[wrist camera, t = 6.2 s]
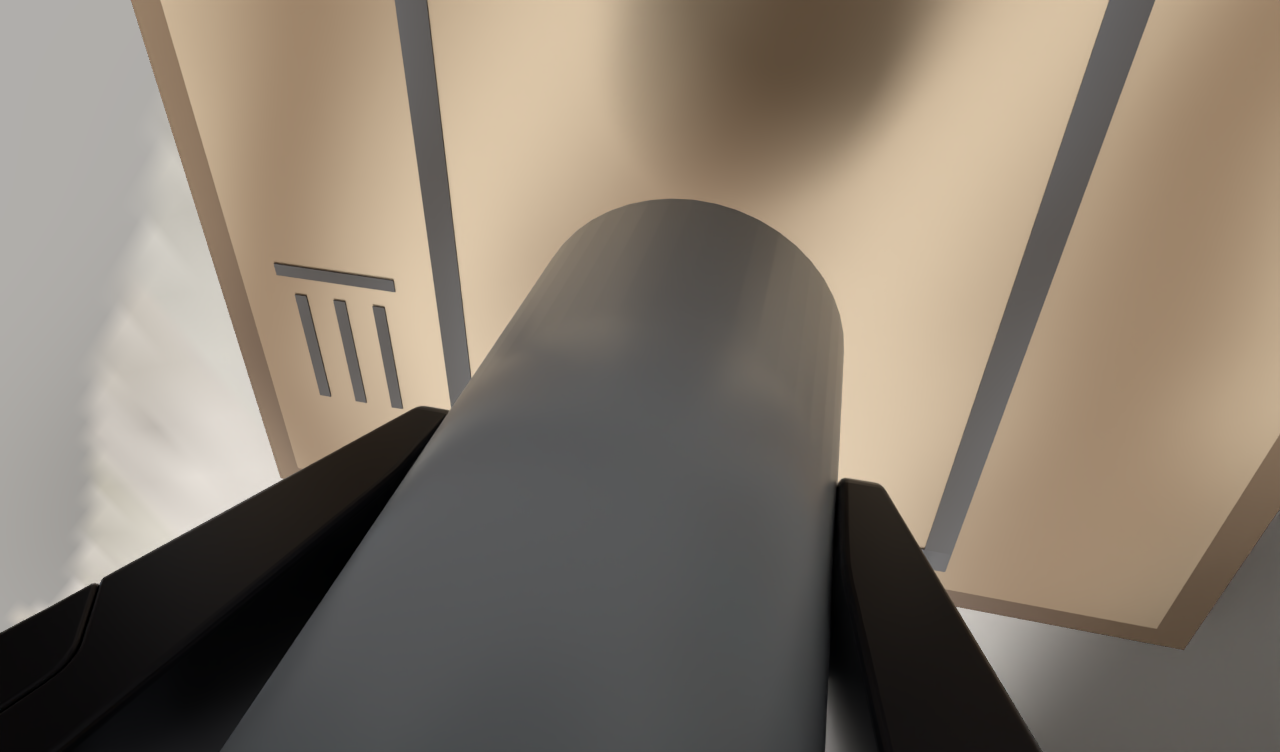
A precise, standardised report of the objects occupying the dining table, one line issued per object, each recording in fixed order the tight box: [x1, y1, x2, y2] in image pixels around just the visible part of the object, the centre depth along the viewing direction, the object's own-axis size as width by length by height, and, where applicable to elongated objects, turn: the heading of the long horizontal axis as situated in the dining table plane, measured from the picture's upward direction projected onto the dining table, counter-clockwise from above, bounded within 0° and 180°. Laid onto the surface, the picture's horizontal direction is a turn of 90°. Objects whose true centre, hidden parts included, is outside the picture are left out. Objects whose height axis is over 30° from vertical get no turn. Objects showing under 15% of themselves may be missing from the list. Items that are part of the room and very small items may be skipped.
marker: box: [220, 199, 844, 752], centre depth 7 cm, size 4×4×9 cm
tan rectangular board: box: [131, 0, 1280, 650], centre depth 13 cm, size 20×16×2 cm
